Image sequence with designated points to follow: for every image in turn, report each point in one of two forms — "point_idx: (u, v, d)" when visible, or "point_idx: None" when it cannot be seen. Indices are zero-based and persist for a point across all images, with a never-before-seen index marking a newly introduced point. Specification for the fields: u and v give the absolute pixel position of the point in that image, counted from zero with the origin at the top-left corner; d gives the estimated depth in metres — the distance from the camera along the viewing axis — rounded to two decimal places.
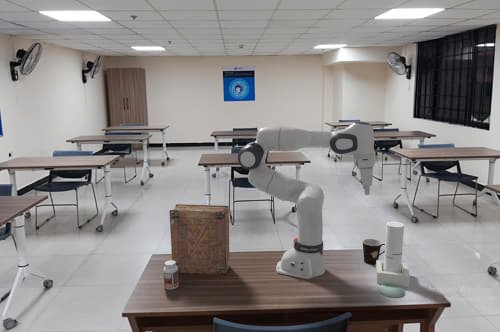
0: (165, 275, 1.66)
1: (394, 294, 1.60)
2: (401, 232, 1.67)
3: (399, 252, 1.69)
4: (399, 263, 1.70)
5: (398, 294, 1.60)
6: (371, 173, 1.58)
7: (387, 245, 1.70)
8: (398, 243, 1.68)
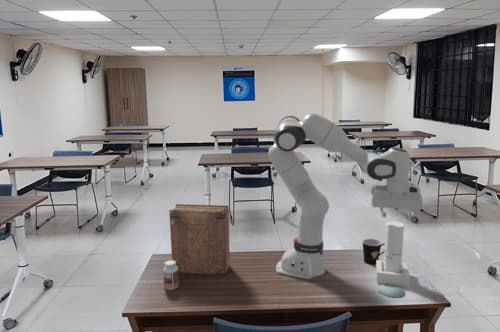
0: (165, 275, 1.66)
1: (394, 294, 1.60)
2: (401, 232, 1.67)
3: (399, 252, 1.69)
4: (399, 263, 1.70)
5: (398, 294, 1.60)
6: None
7: (387, 245, 1.70)
8: (398, 243, 1.68)
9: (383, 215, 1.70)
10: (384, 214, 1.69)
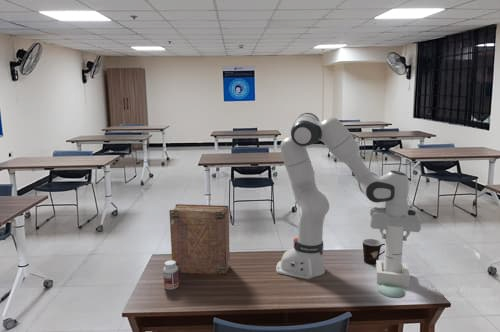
0: (165, 275, 1.66)
1: (394, 294, 1.60)
2: (401, 232, 1.67)
3: (399, 252, 1.69)
4: (399, 263, 1.70)
5: (398, 294, 1.60)
6: None
7: (387, 245, 1.70)
8: (398, 243, 1.68)
9: (383, 237, 1.71)
10: (384, 236, 1.71)
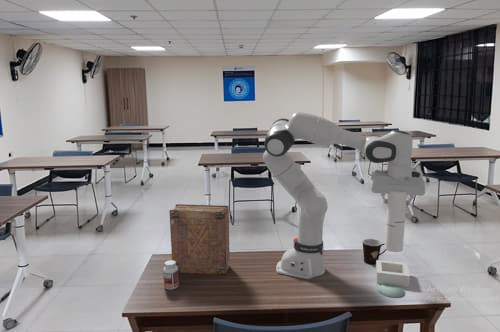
0: (165, 275, 1.66)
1: (394, 294, 1.60)
2: (404, 198, 1.57)
3: (402, 220, 1.59)
4: (401, 231, 1.60)
5: (398, 294, 1.60)
6: None
7: (389, 212, 1.60)
8: (401, 210, 1.58)
9: (385, 202, 1.61)
10: (386, 201, 1.61)
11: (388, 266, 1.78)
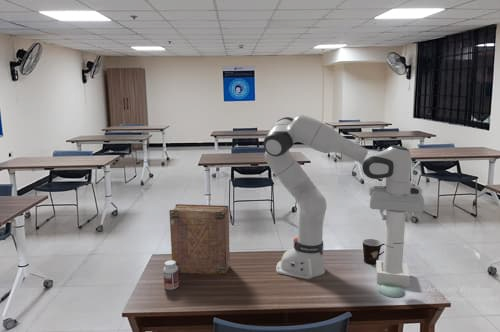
0: (165, 275, 1.66)
1: (394, 294, 1.60)
2: (402, 218, 1.54)
3: (400, 241, 1.56)
4: (400, 253, 1.56)
5: (398, 294, 1.60)
6: None
7: (387, 233, 1.57)
8: (400, 230, 1.55)
9: (383, 218, 1.58)
10: (384, 217, 1.58)
11: None
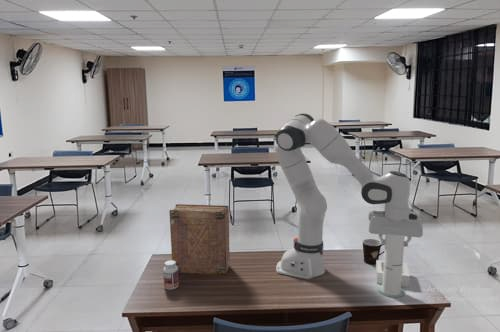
0: (165, 275, 1.66)
1: None
2: (402, 241, 1.55)
3: (399, 263, 1.57)
4: (399, 275, 1.58)
5: None
6: None
7: (386, 255, 1.58)
8: (399, 253, 1.56)
9: (382, 242, 1.60)
10: (383, 241, 1.60)
11: None
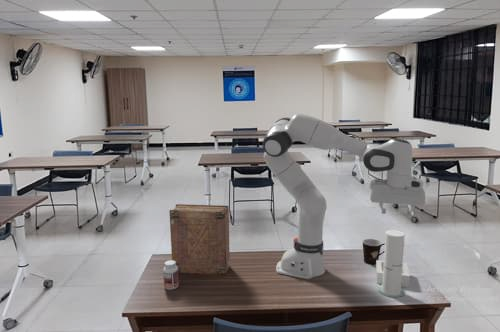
0: (165, 275, 1.66)
1: None
2: (401, 242, 1.55)
3: (399, 263, 1.57)
4: (399, 275, 1.58)
5: None
6: None
7: (386, 256, 1.58)
8: (399, 253, 1.56)
9: (383, 211, 1.57)
10: (384, 210, 1.57)
11: None
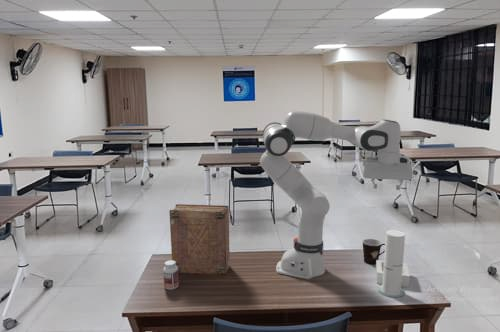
0: (165, 275, 1.66)
1: None
2: (402, 242, 1.55)
3: (399, 263, 1.57)
4: (399, 275, 1.58)
5: None
6: None
7: (387, 256, 1.58)
8: (399, 253, 1.56)
9: (374, 186, 1.73)
10: (375, 185, 1.73)
11: None
